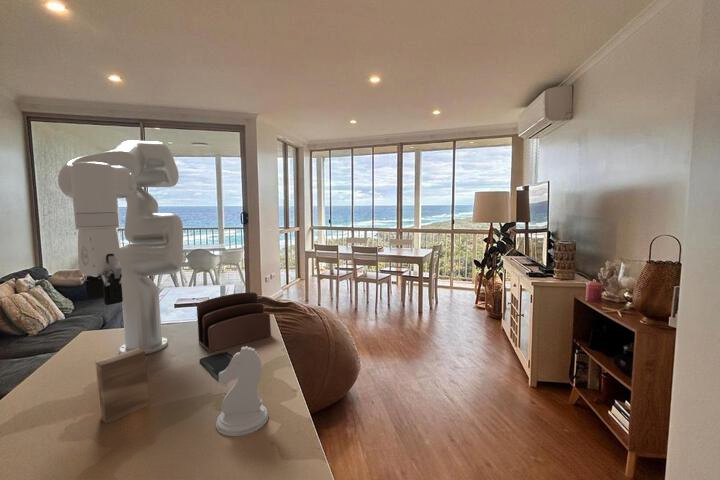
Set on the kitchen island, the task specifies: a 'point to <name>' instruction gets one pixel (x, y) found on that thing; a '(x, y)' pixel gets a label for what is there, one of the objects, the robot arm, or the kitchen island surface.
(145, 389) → the tan flat block
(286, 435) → the kitchen island surface
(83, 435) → the kitchen island surface
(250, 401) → the chess piece
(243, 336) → the letter holder
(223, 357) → the phone
